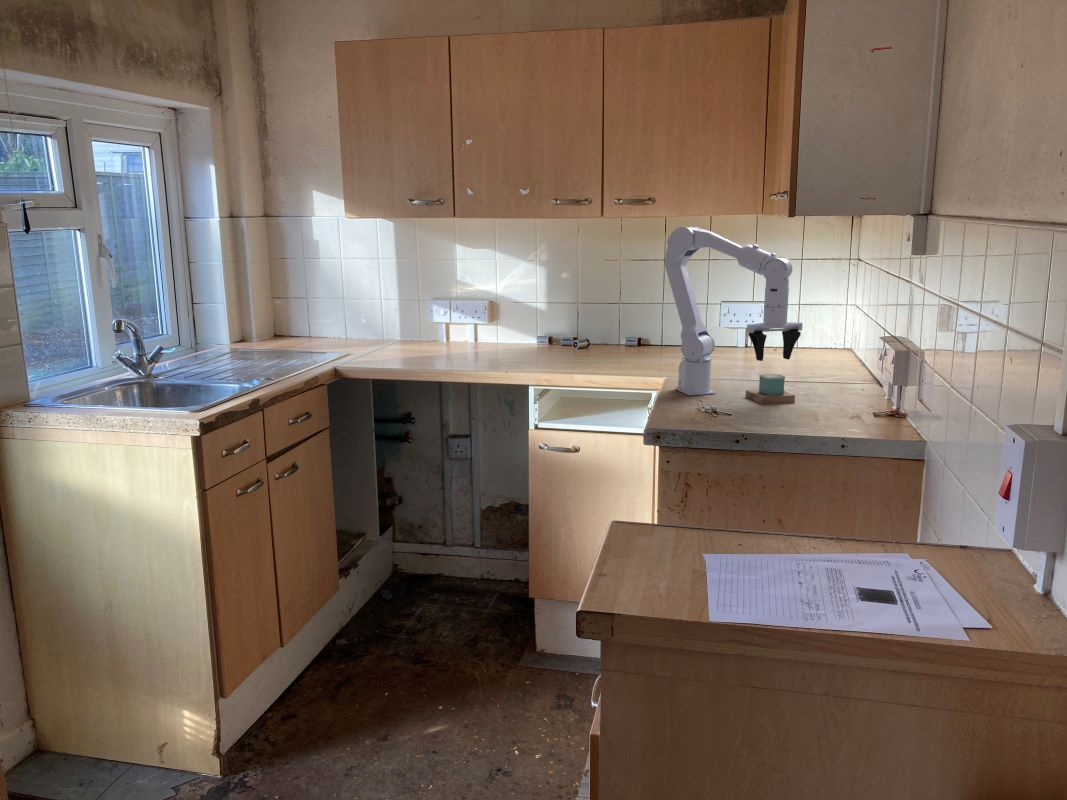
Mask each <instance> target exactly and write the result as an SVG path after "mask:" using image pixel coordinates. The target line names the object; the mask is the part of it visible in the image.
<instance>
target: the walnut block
mask: <svg viewBox="0 0 1067 800" xmlns="http://www.w3.org/2000/svg"><path fill="white" fill-rule="evenodd" d="M745 398H746V399H749V400H750V401H753V402H755V403H758V404H761V405H776V404H779V405H780V404H791V403H792V404H793V403H794V404H795V403H796V402H795V400H796V395H795V394H794V393H791V392H787V391H785V390H784V394H776V395H766V394H764V393H761V392H759V388H758V389H745Z"/></svg>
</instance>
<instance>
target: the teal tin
mask: <svg viewBox="0 0 1067 800" xmlns="http://www.w3.org/2000/svg"><path fill="white" fill-rule="evenodd" d="M758 377H759V386H758V389H759V392H761V393H764V394H766V395H776V394H784V391H785V380H786V376H785V375H782V374H779V373H776V372H773V373H759V374H758Z"/></svg>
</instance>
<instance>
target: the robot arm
mask: <svg viewBox="0 0 1067 800" xmlns="http://www.w3.org/2000/svg"><path fill="white" fill-rule="evenodd" d="M666 243H667V246H666V247H667V248H666V253H665V258H664V268H665V272H666V274H667V278H668V282H669V284H670V288H671V292H672V296H673V299H674V301H675V306H676V310H677V313H678V315H679V316H678V317H679V320H680V324H681V327H682V328H681V331H680V339H681V346H680V350H681V351H680V352H681V354H682V356H683V359H682V360H681V361H680V363H679V366H678V381H677V382H678V383H677V386H675V387H674V389H675V390H677V391H678V392H681V393H683V394H686V395H688V396H700V395H701V396H702V395H716V394H717V392H716V391H715V390H713V389H711V376H712V356H711V354H712V353H713V352H714V350H715V347H716V343H715V339H714V338H713V336H712V335H711V334H710V333H709V330H708V327H707V326H706V325H705V324H704V322H703V321H702V318H701V314H700V310H699V307H698V304H697V300H696V296H695V293H694V289H693V286H692V282H691V280H690V279H691V278H690V275H689V272H688V268H687V264H688V262H689V261H690V259H691V257H692V255H694V254H695V253H696V252H697V251H699V250H700V249H703V248H704V249H705V248H710V249H712V250H715V251H717V252H719V253H721V254H725V255H727V256H729V257H732V258H734V259H736V261H737V262H738V265H739V266H740V267H742V268H745V269H747V270H749V271H751V272H754V273H755V274H758V275H760V276H763V277H764V278H765V287H764V302H763V303H764V304H763V305H764V306H763V319H762V320H763V322H757V323H748V324H746V332H747V333H748V337H749V338H750V341H751V343H752V346H753V350H754V353H755V359H756V361H760V362H763V360H764V356H765V355H764V351H765V344H766V340H767V337H768V336H767V334H764V333H765V332H766V333H767V332H768V333H770V332H781V334H782V344H783V346H782V347H783V348H782V358H783V359H785V360H790V359H791V357H792V352H793V350H794V347H795V345H796V343H797V341H798V340H799V338H800V337H801V334H802V333H801V331H803V322H800V321H799V322H798V321H796V322H795V321H792V322H791V321H790V322H789V321H788V311H789V308H788V307H789V293H790V291H789V290H790V288H789V286H790V285H789V284H790V278H789V277H790V276H791V275H792V272H793V265H792V263H791V261H790V260H788V259H787V258H786V257H784V256H778V257H777V253H775V252H771V253H770V252H768V251H766V250H764V249H761V248H760V245H758V244H755V243H754V244H752V245H751V244H747V245H744V246H741V245H739V244H738V243H736V242H733V241H731V240H729V239H727V238H725V237H723V236H721V235H720V234H716V233H715V232H712V231H710V230H707V229H704V228H700V227H698V226H689V227H687V226H678V227H676V228H675V229H674V230H673V231H671V234H670V235H669V236H668V239H667V240H666Z"/></svg>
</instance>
